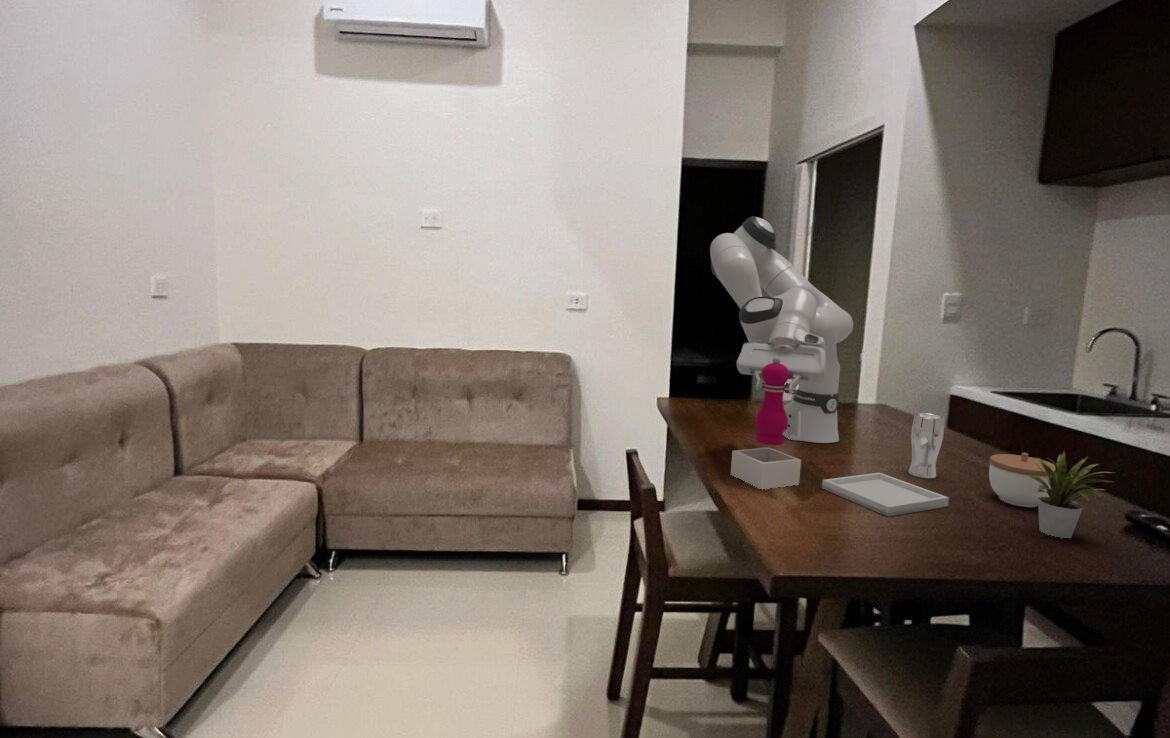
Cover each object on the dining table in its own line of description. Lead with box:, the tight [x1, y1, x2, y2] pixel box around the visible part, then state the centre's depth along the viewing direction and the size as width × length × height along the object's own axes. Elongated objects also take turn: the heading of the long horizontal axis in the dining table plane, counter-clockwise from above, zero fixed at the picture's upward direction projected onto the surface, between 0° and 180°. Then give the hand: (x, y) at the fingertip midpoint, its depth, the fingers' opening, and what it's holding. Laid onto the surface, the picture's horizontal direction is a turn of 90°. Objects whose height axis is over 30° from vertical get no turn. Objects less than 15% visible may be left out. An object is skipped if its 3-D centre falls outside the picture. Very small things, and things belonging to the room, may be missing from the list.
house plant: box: [1027, 450, 1115, 539], centre depth 124 cm, size 14×14×16 cm
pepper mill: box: [754, 356, 790, 446], centre depth 148 cm, size 7×7×20 cm
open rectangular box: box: [730, 446, 802, 491], centre depth 151 cm, size 11×11×6 cm
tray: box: [821, 472, 950, 518], centre depth 143 cm, size 18×18×2 cm
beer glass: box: [908, 412, 945, 479], centre depth 160 cm, size 7×7×15 cm
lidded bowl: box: [988, 452, 1055, 508], centre depth 143 cm, size 13×13×11 cm
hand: (773, 390), depth 148 cm, fingers closed on pepper mill, 5 cm apart
